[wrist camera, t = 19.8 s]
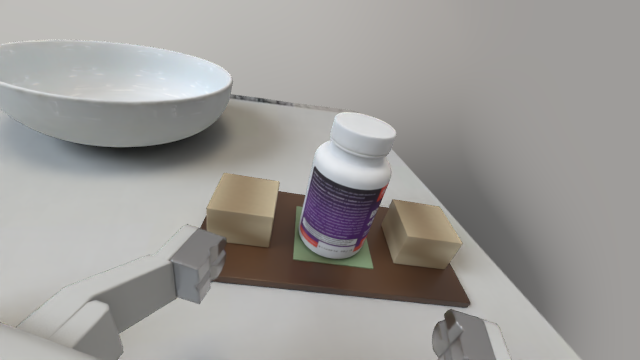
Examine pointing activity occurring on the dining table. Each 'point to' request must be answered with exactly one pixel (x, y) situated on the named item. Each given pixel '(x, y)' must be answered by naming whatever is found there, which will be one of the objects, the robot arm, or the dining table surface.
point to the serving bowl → (110, 91)
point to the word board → (326, 273)
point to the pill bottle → (346, 185)
